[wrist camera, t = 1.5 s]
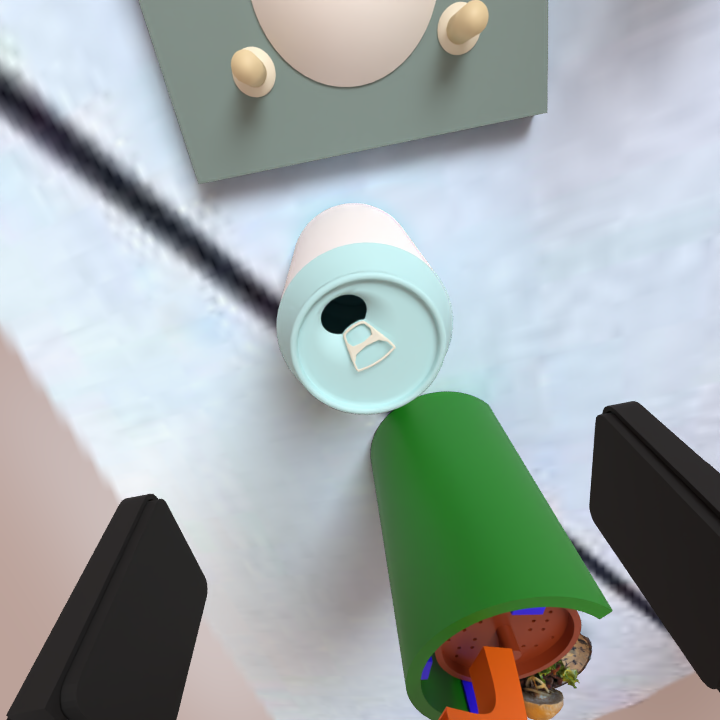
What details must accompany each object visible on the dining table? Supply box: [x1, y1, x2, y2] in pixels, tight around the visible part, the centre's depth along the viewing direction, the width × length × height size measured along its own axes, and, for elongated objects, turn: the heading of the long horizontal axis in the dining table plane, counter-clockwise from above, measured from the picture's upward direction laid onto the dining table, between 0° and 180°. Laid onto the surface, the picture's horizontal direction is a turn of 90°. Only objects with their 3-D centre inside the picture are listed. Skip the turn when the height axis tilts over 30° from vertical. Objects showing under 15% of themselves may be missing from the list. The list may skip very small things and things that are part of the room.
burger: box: [519, 634, 592, 720], centre depth 44 cm, size 12×12×8 cm
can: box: [276, 203, 453, 415], centre depth 22 cm, size 7×7×12 cm
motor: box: [371, 392, 613, 720], centre depth 25 cm, size 10×9×20 cm
